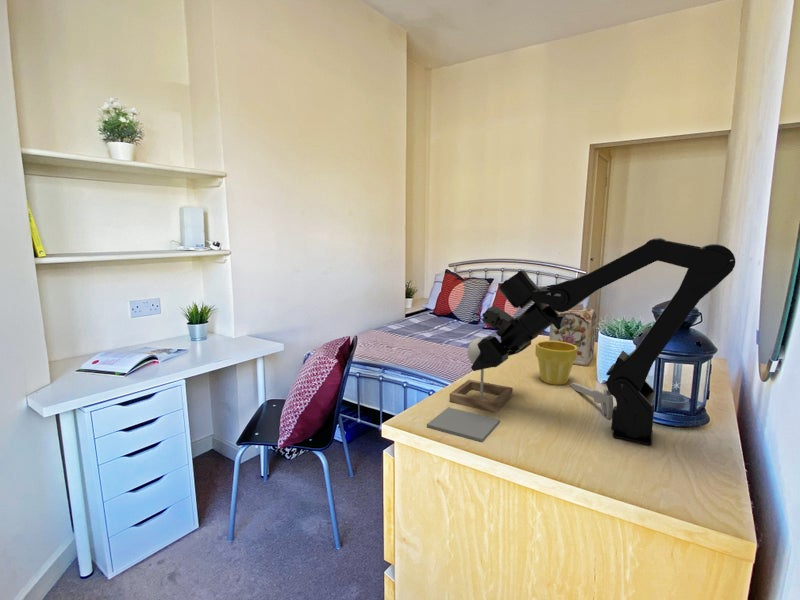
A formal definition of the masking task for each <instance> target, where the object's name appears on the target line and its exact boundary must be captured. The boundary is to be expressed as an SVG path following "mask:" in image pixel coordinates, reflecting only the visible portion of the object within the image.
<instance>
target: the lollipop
mask: <svg viewBox="0 0 800 600" xmlns="http://www.w3.org/2000/svg"><path fill="white" fill-rule="evenodd" d="M484 338H485V337H482V336H481V337H476V338H475V339H473V340H471V342H469V345H468V347H467V352H466V353H467V358H468V360H469V361H470V363H471V364H472V365H473V363H474V362H475V360H476V359H477V357H478V356H479V354H480V350H479V348H478V343H479V342H480V341H481V340H482V339H484ZM484 370H485V369H482V370H480V382H481V384H480V391H479V392H480V394H479V398H482V399H484V392H483V382H484V374H485V373H484V372H485V371H484Z"/></svg>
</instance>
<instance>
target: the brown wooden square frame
mask: <svg viewBox="0 0 800 600" xmlns="http://www.w3.org/2000/svg"><path fill="white" fill-rule="evenodd" d="M480 384H481V380H475V379H474V380H473V379H467V380H466V381H465V382H464V383H462V384H461V385H459V386H458V387H457V388H455V389H454V390H453V391H451V392H450V393H449V402H450V403H453V404H456V405H457V404H458V405H462V406H467V407H471V408H475V409H476V408H477V409H480V410H484V411H489V412H492V413H497V412H499V410H500V409H501V408H502V407H504V405H505V404H506V403H507V402H508V401H509V400H510V398H512V397H513V390H514V389H513V387H510V386H507V385H506V386H505V385H500V384H494V383H489V382H485V381H483V393H489V394H494V395H497V397H496V398H494V400H492V399H486V398H483V399H482V398H480V397H477V396H472V395H467V393H468V392H470V391H472V390H475V391H478V392H480Z"/></svg>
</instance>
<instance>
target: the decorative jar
mask: <svg viewBox="0 0 800 600" xmlns="http://www.w3.org/2000/svg"><path fill="white" fill-rule="evenodd" d="M556 312H557V313H558V314H560V315H565V320H564V321H565V326H564V327H563V328H561V329H559V330H558V329H557V328H556V327H555V326H554V325H553V324H552V325H550V326H549V336H548V338H549V339H548V341H560V342H566V343H570V344H573V345H575V346H576V347H577V357H576V360H575V361H574V362H573V364H572V365H576V366H583V367H588V366H589V364H590V363H591V361H592V360H593V358H594V354H595V344H596V343H595V341H596V321H597V314H596V311H595V309H593V308H589V307H584V303H583V301H582V302H581V303H579V304H578V305H577V306H575V307H573V308H572V309H570V310H568V311H565V312H558V311H556Z"/></svg>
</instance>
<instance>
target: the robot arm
mask: <svg viewBox="0 0 800 600" xmlns="http://www.w3.org/2000/svg"><path fill="white" fill-rule="evenodd" d="M655 262H661V263H667V264H670V265H673V266H677V267H681V268H685V269H687V270H686V272H685V275H684V277H683V279H682V281H681V283H680V285H679V287H678V289H677V291H676V292H675V293H674V295H673V296H672V297H671V299H670V301H668V303H667V305H666V306H665V307H664V309H663V310H662V312H661V313H660V314H659V316H658V317H657V319H656V320H655V321H654V323H653V324H652V326H651V327H650V329H649V330H648V331H647V333H646V334H645V335H644V337H643V339H641V341H640V343H639V344H638V346H637V347H635V349H634V350H633V351H632V352H630V353H629V354H628V353H627V352H626V351H625V350H622V351H621V352H620V354H619V355H618V356H617V358H616V360H615V363H613V364H612V365H611V366H610V368H609V369H608V371H607V372H606V374H605V375H606V376H608V377H607V380H606V385H605V386H606V389H608V391H609V392H610V394H611V396H613V398H614V399H615V402H616V405H615V406H614V405H613V413H612V419H611V427H610V428H611V431H613V432H612V437H613V438H617V439H620V440H625V441H630V442H634V443H639V444H643V445H646V446H647V445H648V446H652V445H653V433H654V432H653V431H654V430H653V426H654V425H653V424H654V413H655V404H653V403H654V400H655V396H656V393H657V392H656V390H655V389H653V387H652V386H651V385H650V384H649V382H647V378H648V375H649V373H650V372H651V371H650V370H651V369H652V366H653V364H654V362H655V361H656V359H658V357H659V356H660V354H661V353H662V351H664V349H665V348H666V346H667V345H668V344H669V342H670V341H671V340H672V338H673V337H674V336H675V334H676V333H677V331H678V330H679V329H680V328H681V326H682V325H683V323H684V322H685V321H686V319H687V318H688V317H689V315H690V314H691V313H692V311H693V310H694V309H695V307H696V305H697V304H698V303H699V302H700V301H701V300H702V299H703V298H704V297H705V296H706V295H708V294H709V293H710V292H712V290H713V289H715V288H716V287H717V286H718V285H719V284H720V283H721V282H722V281H724V279H725V278H727V277H728V276H729V275H730V274H732V272H733V270H734V268H735V266H736V258H735V255H734V253H733V252H732V250H731V249H729V248H727V247H726V246H725V245H722V244H718V243H711V244H710V243H709V244H706V245H703V246H702V247H701V246H697V245H693V244H687V243H681V242H676V241H671V240H666V239H665V238H662V237H658V238H657V237H656V238H652V239H649V240H648V241H647V242H646V243H645V244H643V245H641V246H639V247H637V248H635V249H633V250H632V251H629V252H627V253H626V254H623V255H622V256H620V257H618V258H616V259H614V260H612V261H611V262H610V261H609V262H608V263H607V264H605V265H602V266H601V267H598V268H596V269H594V270H593V271H591V272H589V273H586V274H583V275H580V276H577V277H574V278H571V279H568V280H566V281H562V282H559V283H557V284H554V285H552V286H548V287H546V286H543V287H540V288H539V287H538V285H537V284H535V282H534V281H533V280H532V279H531V278H530V277H529V275H528V273H527V272H526V270H524V269H522V270H519V271H518V272H517V273H515V274H514V275H512V276H511V277H509V278H508V279H506V280H504V281H503V282H502V283H501V284H500V285H499V286H498V290H499V292H500V293H501V294H502V295H503V297H504V298H505V299H506V300H507V302H509V303H510V305H511V306H512V307H513V308H514V309H518V308H520V309H521V310H524V309H525V308H526V309H525V310H524V311H523V312H522V313H521V314H519V315H518V316H516V317H513V316H512V315H510V314H509V313H508V312H507V311H505V310H502V309H501V308H499V307H498V306H493V305H492V306H490V307H488V308H486V310H485V312H483V313H482V319H481V321H482V322H483V323H484V324H488V325H489V326H491V327H492V328H494V329H495V330H496V331H495V334H496V335H497V336H498V337H500V340H499V339H498V338H497V337H496V336H493V335H488V336H486V337H484V339H482V340H481V341H480V342H479V343H478V348H479V350H480V354H479V356H478V357H477V359H476V360H475V362H474V363H473V364H472V365H471V367H470V368H471V370H472V372H476V371H477V372H478V371H481V370H482V369H484V370H485V369H491V368H497V367H498V366H500V365H502V364H503V363H504V362H506V361H507V360H508V359H509V357H510V356H513V355H516V354H519V353H521V352H523V351H524V350H526V349H527V348H529V346H530V345H532V341H533V340H534V339H536V338H537V337H539V335H541V334H542V333H543V332H544V331H545V330H547V329H548V328H550V325H552V324H553V325H554V326H555V327H556V328H557V329H558V330H559V329H561V328H563V327H564V326H565V321H564V320H565V315H560V314H558V313H557V312H556V311H558V312H565V311H568V310H570V309H572V308H573V307H575V306H577V305H578V304H579V303H581V302H582V303H583V302H584V301H585V300H586V299H588V298H589V297H590V296H592V295H593V294H594V293H596V292H597V291H599V290H600V289H602V288H604V287H606V286H607V285H608V286H609V285H610V284H612V283H614V282H616V281H619V280H620V279H623V278H624V277H627V276H629V275H631V274H632V273H634V272H637V271H638V270H640V269H643V268H645V267H647V266H648V265H651V264H653V263H655ZM530 304H532V305H530ZM529 305H530V306H529ZM528 306H529V307H528ZM527 307H528V308H527ZM500 341H501V342H500Z"/></svg>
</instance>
